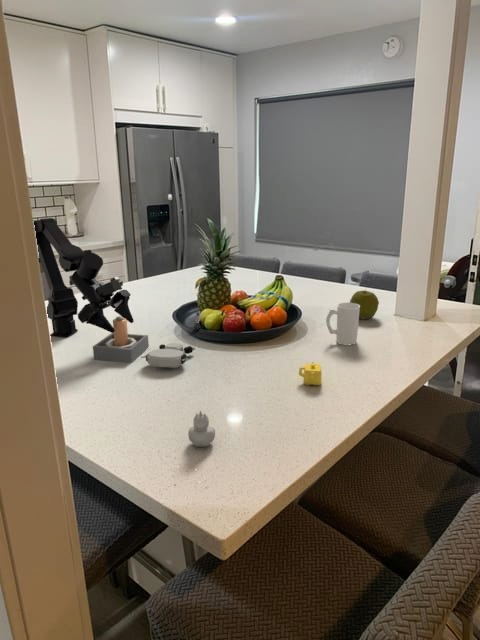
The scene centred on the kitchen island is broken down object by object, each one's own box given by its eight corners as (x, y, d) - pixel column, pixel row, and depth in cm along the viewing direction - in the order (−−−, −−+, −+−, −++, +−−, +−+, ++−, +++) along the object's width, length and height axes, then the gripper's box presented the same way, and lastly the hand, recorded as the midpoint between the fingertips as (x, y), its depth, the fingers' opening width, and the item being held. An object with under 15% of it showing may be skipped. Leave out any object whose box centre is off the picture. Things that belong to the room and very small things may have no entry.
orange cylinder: (112, 351, 144) (110, 318, 140) (118, 346, 147) (116, 314, 144) (125, 353, 143) (122, 320, 139) (130, 348, 146) (128, 315, 143)
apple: (346, 320, 173) (348, 290, 169) (351, 312, 181) (353, 284, 178) (375, 323, 169) (378, 293, 166) (378, 315, 178) (381, 286, 174)
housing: (94, 359, 141) (92, 346, 140) (113, 344, 152) (112, 332, 151) (132, 362, 138) (130, 349, 137) (148, 347, 150) (147, 335, 148)
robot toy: (159, 353, 147) (140, 370, 133) (158, 339, 146) (139, 355, 132) (198, 356, 145) (183, 374, 131) (197, 342, 144) (182, 358, 129)
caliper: (199, 331, 164) (198, 313, 162) (196, 331, 164) (195, 313, 162) (209, 313, 183) (209, 297, 181) (206, 313, 183) (206, 297, 181)
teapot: (299, 375, 130) (299, 357, 128) (320, 376, 129) (321, 358, 127) (298, 388, 122) (298, 369, 121) (321, 389, 121) (322, 371, 120)
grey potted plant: (186, 451, 96) (185, 416, 94) (191, 433, 102) (189, 400, 100) (213, 452, 96) (212, 416, 93) (216, 434, 102) (215, 400, 100)
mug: (354, 338, 156) (357, 302, 152) (359, 345, 149) (362, 308, 146) (323, 338, 156) (325, 302, 152) (326, 345, 150) (328, 308, 146)
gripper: (81, 277, 131) (118, 320, 130) (122, 263, 147) (156, 302, 146) (62, 301, 136) (97, 343, 135) (104, 286, 152) (136, 323, 152)
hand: (123, 327), depth 142 cm, fingers open, 9 cm apart
